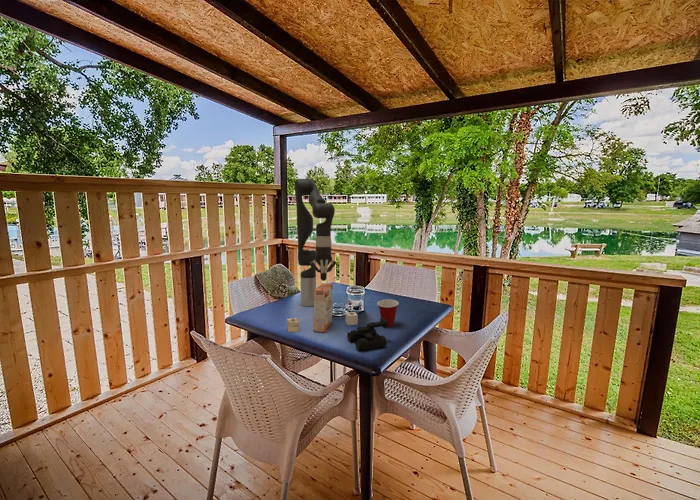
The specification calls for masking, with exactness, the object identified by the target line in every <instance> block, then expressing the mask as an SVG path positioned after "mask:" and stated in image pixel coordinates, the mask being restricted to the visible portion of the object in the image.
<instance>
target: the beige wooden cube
mask: <svg viewBox="0 0 700 500" xmlns="http://www.w3.org/2000/svg"><path fill="white" fill-rule="evenodd" d="M358 316H359V315H358V314H357V312H356V311H349V312H348V311H347V312H345V323H346V324H347V326H354V325H356V326H357V325H358V321H359V319H358Z"/></svg>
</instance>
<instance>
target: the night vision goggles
mask: <svg viewBox="0 0 700 500" xmlns="http://www.w3.org/2000/svg"><path fill="white" fill-rule="evenodd" d="M387 325H388V321H387V320H385V319H384V318H381V317H380V319H379V321H374V322H369V323H367V324H366V326H359V327H357V328H356V329H353V330H350V332H347V333H346V334H347V335H346V337H347V341H348V342H352V343H354V344H355V346H354V347H355V349H356V350H357V351H361V352H366V351H368V350H372V349H378V348H385V347H386V345H387V338H386V336H384V335H380V334H378V332H377V329H376V328H381V327H382V328H383V329H388V327H387Z"/></svg>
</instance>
